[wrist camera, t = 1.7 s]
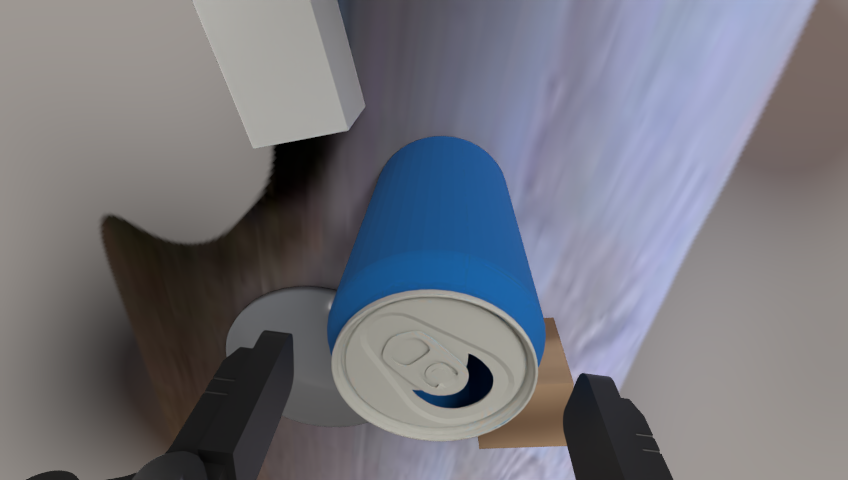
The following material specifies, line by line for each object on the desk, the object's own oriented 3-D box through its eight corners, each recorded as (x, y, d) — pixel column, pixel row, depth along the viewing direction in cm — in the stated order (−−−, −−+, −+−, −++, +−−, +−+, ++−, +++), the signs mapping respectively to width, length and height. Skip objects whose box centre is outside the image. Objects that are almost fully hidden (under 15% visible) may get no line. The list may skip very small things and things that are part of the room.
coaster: (220, 273, 25) (215, 279, 25) (423, 301, 26) (423, 307, 25) (238, 408, 32) (234, 415, 31) (402, 429, 32) (401, 436, 31)
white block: (234, -22, 18) (182, -23, 14) (326, -46, 17) (294, -53, 14) (285, 121, 21) (253, 148, 17) (365, 105, 20) (348, 130, 17)
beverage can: (438, 268, 24) (429, 475, 14) (352, 190, 22) (267, 368, 12) (532, 197, 22) (604, 385, 12) (445, 101, 20) (439, 229, 10)
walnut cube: (469, 322, 26) (472, 387, 22) (553, 316, 26) (573, 383, 22) (475, 379, 29) (479, 448, 25) (551, 375, 28) (569, 445, 24)
